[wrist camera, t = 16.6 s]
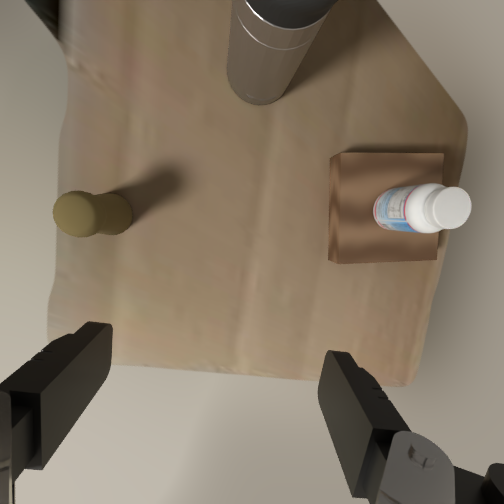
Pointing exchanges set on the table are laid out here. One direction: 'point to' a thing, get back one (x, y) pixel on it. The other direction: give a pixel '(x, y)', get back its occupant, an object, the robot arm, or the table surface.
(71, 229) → the cork
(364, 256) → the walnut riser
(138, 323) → the table surface
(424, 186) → the pill bottle
